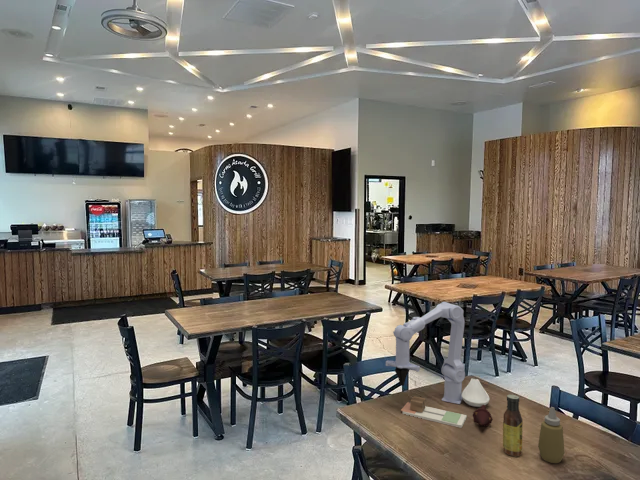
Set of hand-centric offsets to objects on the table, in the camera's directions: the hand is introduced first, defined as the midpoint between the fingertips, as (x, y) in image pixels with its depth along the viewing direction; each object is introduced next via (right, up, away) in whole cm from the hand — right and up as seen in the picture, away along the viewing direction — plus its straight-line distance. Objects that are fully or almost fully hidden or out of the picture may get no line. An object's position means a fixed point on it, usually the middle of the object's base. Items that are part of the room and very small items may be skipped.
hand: (402, 384), depth 185 cm
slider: (+6, -9, -3) cm, 11 cm away
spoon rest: (+35, -10, +11) cm, 38 cm away
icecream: (+29, -12, -14) cm, 34 cm away
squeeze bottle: (+44, -13, -38) cm, 59 cm away
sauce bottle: (+32, -13, -34) cm, 48 cm away
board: (+12, -11, -6) cm, 17 cm away
